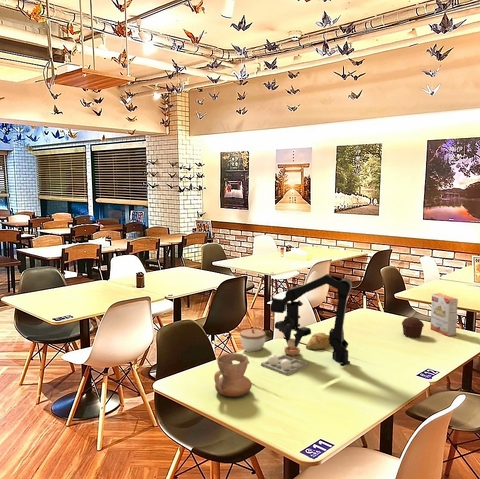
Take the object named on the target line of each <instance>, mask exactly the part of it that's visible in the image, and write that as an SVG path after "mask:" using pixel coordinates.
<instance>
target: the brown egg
mask: <svg viewBox="0 0 480 479" xmlns="http://www.w3.org/2000/svg"><path fill="white" fill-rule="evenodd" d="M286 344H287V347H289V348H291V349H294V348H296V347H295V338H290V339H289V340H288V342H286Z"/></svg>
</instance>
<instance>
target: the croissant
mask: <svg viewBox="0 0 480 479" xmlns="http://www.w3.org/2000/svg"><path fill="white" fill-rule="evenodd" d="M328 339H329V334H326V333H325V332H317V333H314V334H313V335H312V336H311V337H310V338H309V341H308V342H307V344H305V349H306V350H321V349H325V348H327V347H328V346H330V344H329V340H328Z"/></svg>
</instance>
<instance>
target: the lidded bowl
mask: <svg viewBox="0 0 480 479" xmlns="http://www.w3.org/2000/svg"><path fill="white" fill-rule="evenodd" d="M265 341H266V332H265V331H264V330H262V329H257V328H249V329H244V330H241V331H240V345H241V346H242V348H243V349H244V350H245V352H247V353H250V352H257V351H260V350H262V349H263V347H264V346H265Z"/></svg>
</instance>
